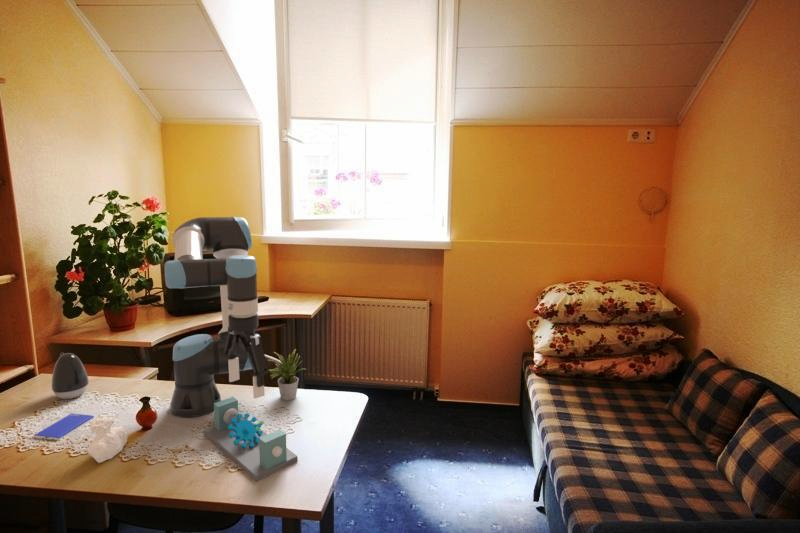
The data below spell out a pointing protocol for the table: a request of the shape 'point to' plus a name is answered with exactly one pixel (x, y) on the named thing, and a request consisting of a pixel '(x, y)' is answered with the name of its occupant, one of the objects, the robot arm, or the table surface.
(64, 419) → the hard drive
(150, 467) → the table surface
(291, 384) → the house plant
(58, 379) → the dark grey egg shape
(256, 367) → the robot arm
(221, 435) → the shaft stand
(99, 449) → the white irregular lump
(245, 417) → the gear
